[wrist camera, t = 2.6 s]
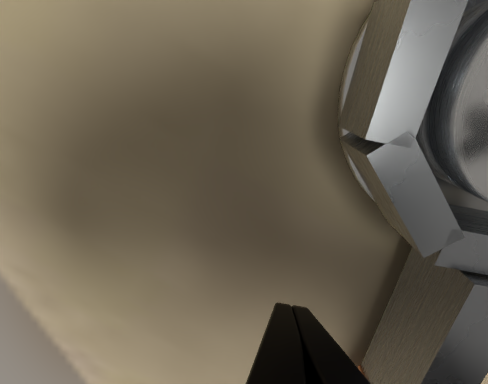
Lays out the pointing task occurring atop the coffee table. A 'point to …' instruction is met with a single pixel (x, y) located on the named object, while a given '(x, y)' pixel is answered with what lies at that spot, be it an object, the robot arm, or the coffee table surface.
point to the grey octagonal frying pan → (417, 202)
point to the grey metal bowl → (450, 113)
